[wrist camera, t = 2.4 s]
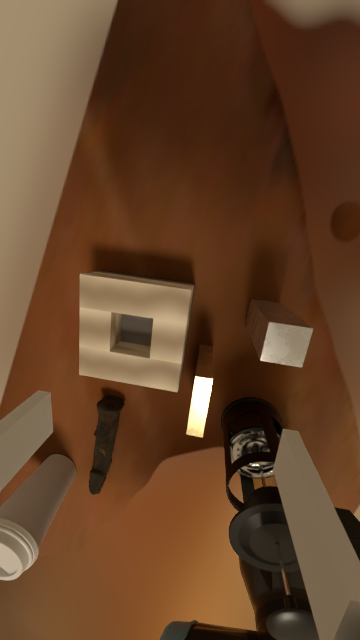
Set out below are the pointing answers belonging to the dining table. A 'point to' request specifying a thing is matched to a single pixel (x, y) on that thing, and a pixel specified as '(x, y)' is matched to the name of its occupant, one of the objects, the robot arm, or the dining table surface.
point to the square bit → (277, 333)
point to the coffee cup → (32, 514)
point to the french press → (263, 511)
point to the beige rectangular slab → (201, 391)
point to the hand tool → (104, 440)
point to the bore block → (134, 328)
